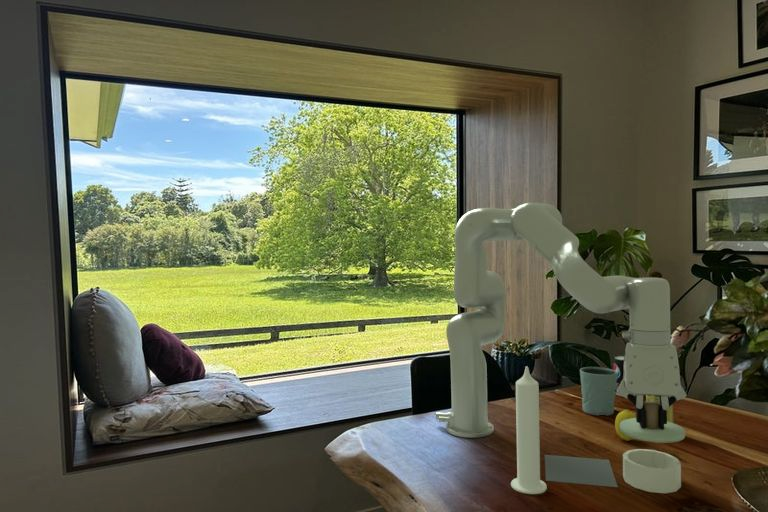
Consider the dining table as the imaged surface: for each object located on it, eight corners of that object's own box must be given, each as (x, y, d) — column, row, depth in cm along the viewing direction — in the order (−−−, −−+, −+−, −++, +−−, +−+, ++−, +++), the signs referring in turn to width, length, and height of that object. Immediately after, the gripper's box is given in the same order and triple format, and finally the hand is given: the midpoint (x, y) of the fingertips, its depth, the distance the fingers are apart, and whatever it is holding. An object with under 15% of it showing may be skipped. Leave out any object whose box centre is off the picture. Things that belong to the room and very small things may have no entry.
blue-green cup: (573, 408, 162) (572, 368, 162) (601, 404, 165) (600, 365, 165) (596, 418, 152) (595, 376, 152) (625, 414, 155) (625, 372, 155)
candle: (540, 479, 114) (538, 362, 114) (551, 495, 107) (549, 370, 107) (507, 480, 114) (505, 363, 113) (516, 496, 107) (514, 371, 106)
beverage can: (613, 391, 179) (613, 355, 178) (635, 393, 176) (635, 356, 176) (614, 396, 172) (613, 359, 172) (637, 398, 170) (636, 360, 170)
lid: (625, 440, 107) (624, 410, 107) (615, 421, 118) (615, 393, 118) (692, 444, 104) (692, 413, 104) (676, 424, 115) (675, 396, 115)
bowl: (628, 491, 108) (627, 466, 108) (620, 470, 118) (620, 447, 118) (686, 497, 105) (686, 471, 105) (672, 474, 115) (672, 451, 115)
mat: (545, 482, 113) (545, 480, 113) (544, 456, 126) (544, 454, 126) (618, 489, 109) (618, 487, 109) (608, 461, 123) (608, 459, 123)
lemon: (642, 446, 131) (641, 413, 131) (617, 445, 132) (617, 412, 132) (636, 438, 137) (635, 406, 136) (612, 436, 138) (612, 405, 137)
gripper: (609, 340, 109) (611, 430, 110) (699, 342, 105) (701, 435, 105) (605, 334, 117) (606, 418, 117) (689, 335, 112) (690, 423, 113)
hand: (651, 425), depth 111 cm, fingers closed on lid, 2 cm apart
